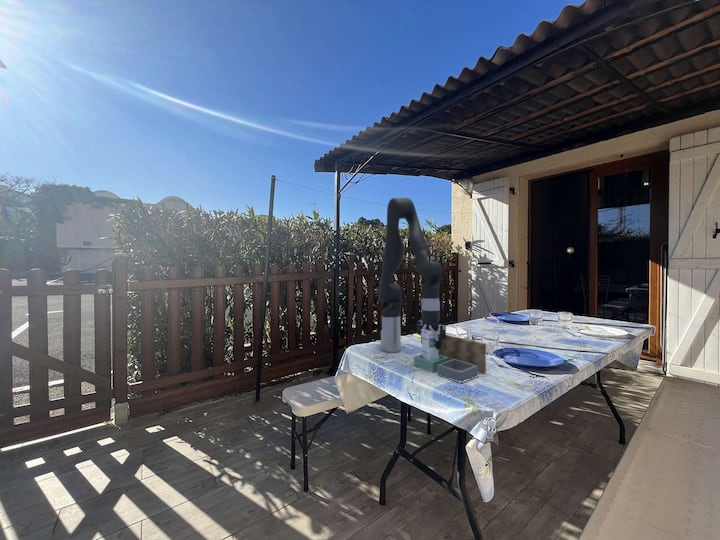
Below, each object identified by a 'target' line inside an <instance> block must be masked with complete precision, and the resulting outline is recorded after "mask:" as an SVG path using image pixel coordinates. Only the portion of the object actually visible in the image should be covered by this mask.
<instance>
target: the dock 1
mask: <svg viewBox="0 0 720 540" xmlns="http://www.w3.org/2000/svg"><path fill="white" fill-rule="evenodd" d="M413 359H414V367H416V366H417V368H419V367H421V368H420V369H422V368H424V369H426V370H425V371H427V370H429V371H428V372H430V371H432V372H431V373H435V371H436V372H437V365H438V364H441V363H443V362H446V361H448V357H445V356H442V355H440V359H439V360H436V361H433V362H432V361H429V360H426V359H423V358H422V354H420V355H418V354H417V355H416V356H414V358H413ZM424 369H423V370H424Z"/></svg>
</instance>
